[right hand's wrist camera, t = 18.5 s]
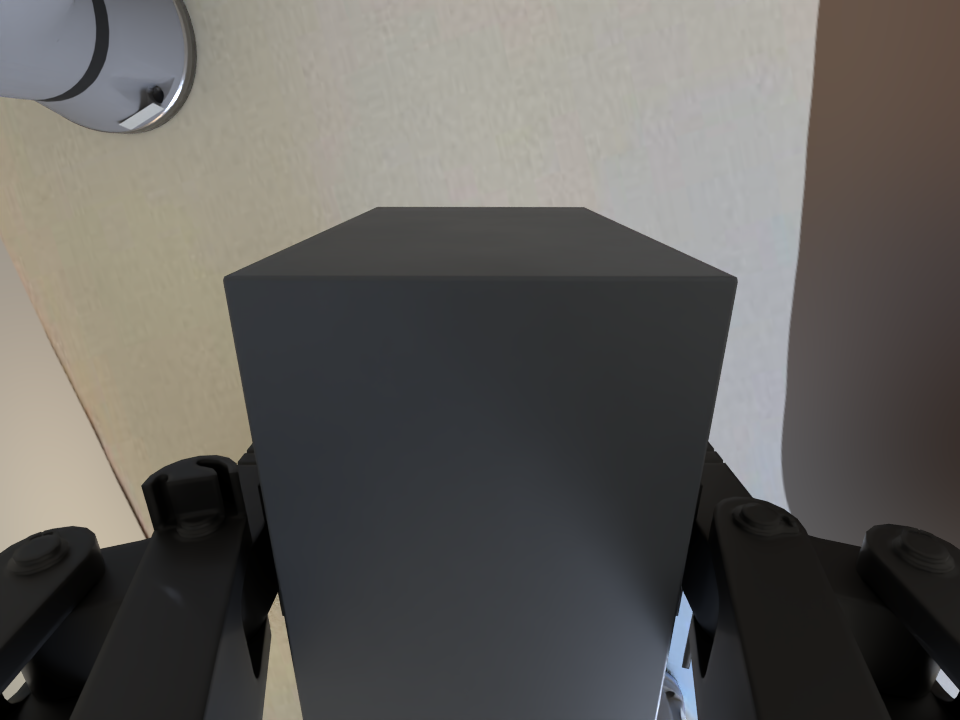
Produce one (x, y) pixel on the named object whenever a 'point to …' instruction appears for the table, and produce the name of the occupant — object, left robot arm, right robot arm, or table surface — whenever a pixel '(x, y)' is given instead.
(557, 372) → the post
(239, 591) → the right robot arm
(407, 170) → the table surface
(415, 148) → the table surface
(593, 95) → the table surface
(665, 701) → the left robot arm
